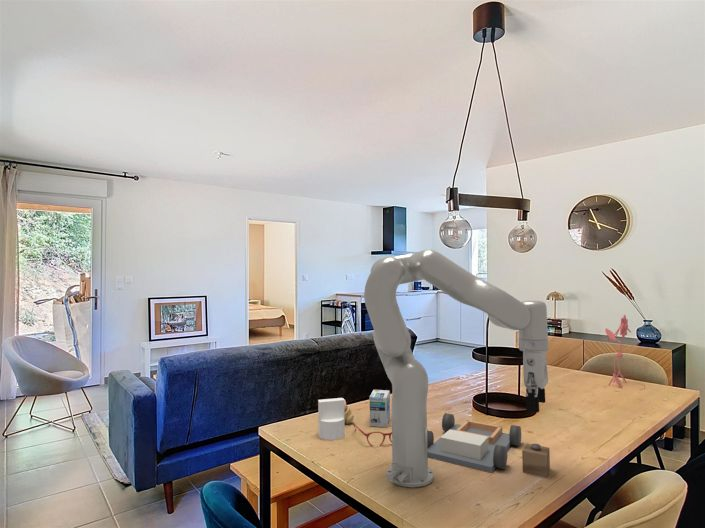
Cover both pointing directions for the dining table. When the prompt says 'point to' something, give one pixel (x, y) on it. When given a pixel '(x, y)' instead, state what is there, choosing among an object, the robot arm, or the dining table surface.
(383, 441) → the red eyeglasses
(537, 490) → the dining table surface
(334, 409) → the cylinder with rectangular tab
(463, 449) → the toy car chassis
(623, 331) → the pink coral sprig
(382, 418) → the light bulb box
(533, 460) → the brown rectangular block
